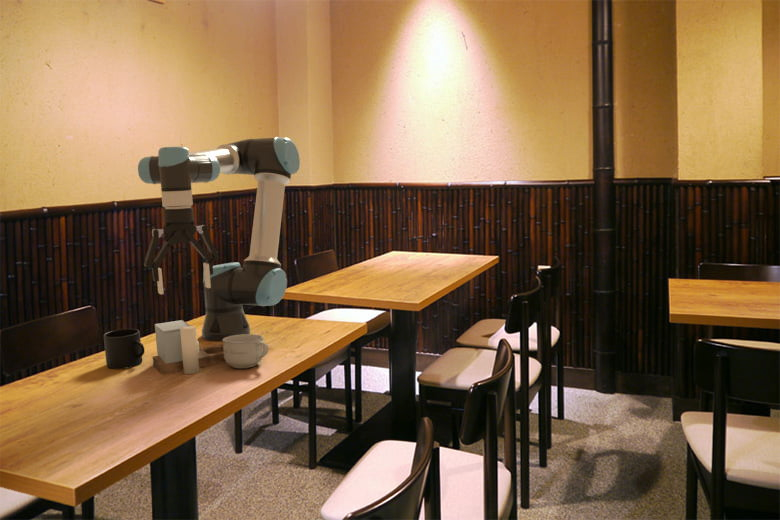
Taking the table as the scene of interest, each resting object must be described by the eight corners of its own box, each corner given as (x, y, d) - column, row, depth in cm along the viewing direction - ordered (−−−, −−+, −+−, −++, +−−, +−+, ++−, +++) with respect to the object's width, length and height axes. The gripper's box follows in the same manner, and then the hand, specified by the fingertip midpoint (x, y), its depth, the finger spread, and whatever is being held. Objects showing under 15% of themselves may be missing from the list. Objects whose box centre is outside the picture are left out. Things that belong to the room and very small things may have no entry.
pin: (197, 368, 182) (193, 325, 181) (201, 372, 179) (197, 328, 177) (182, 371, 180) (178, 328, 179) (186, 375, 177) (182, 330, 175)
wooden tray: (222, 352, 197) (220, 332, 196) (233, 360, 189) (231, 339, 188) (153, 365, 187) (151, 344, 186) (162, 374, 179) (160, 352, 178)
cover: (184, 350, 191) (182, 319, 190) (194, 358, 183) (191, 326, 181) (157, 355, 187) (154, 324, 186) (166, 363, 179) (163, 331, 178)
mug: (133, 371, 182) (130, 338, 181) (99, 367, 186) (95, 336, 185) (157, 361, 191) (154, 330, 190) (123, 358, 195) (120, 327, 194)
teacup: (216, 366, 183) (214, 338, 182) (249, 357, 191) (247, 330, 190) (246, 376, 174) (244, 346, 173) (280, 366, 182) (278, 337, 181)
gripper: (218, 203, 182) (224, 282, 186) (126, 210, 170) (134, 294, 173) (227, 204, 176) (233, 286, 179) (132, 211, 164) (140, 298, 167)
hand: (184, 290), depth 176 cm, fingers open, 11 cm apart
